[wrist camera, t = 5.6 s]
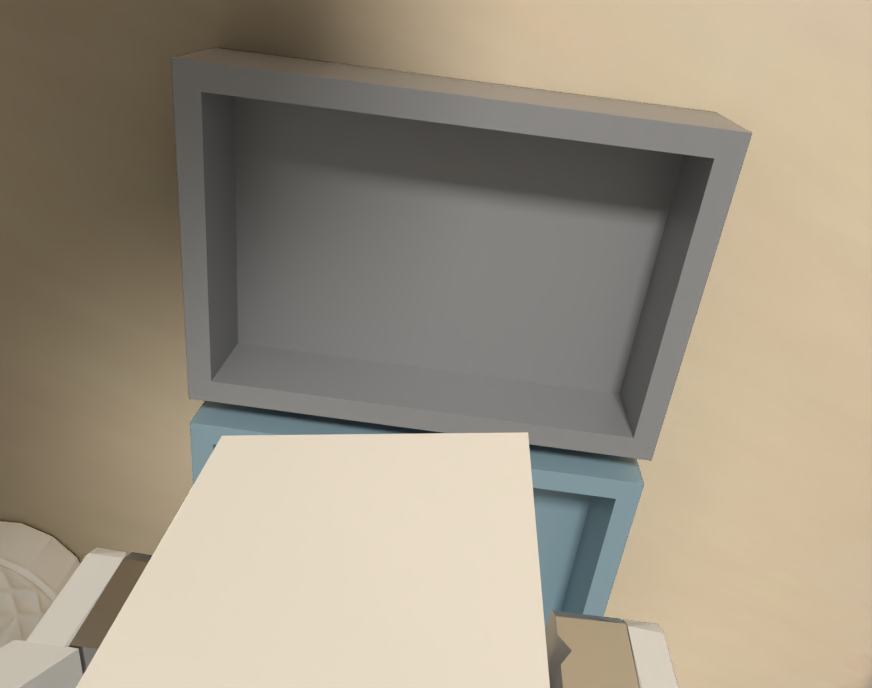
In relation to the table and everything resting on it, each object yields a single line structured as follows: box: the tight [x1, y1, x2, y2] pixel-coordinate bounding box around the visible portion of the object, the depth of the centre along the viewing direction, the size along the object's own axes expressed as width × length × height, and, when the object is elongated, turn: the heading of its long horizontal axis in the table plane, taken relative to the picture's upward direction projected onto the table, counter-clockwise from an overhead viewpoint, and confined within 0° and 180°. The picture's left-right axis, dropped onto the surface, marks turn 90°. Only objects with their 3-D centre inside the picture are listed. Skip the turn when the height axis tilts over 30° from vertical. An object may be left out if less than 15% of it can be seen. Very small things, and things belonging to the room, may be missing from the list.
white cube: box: [76, 432, 550, 688], centre depth 9 cm, size 4×4×4 cm
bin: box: [190, 401, 644, 636], centre depth 29 cm, size 11×16×4 cm
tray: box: [171, 48, 752, 460], centre depth 24 cm, size 11×16×4 cm
